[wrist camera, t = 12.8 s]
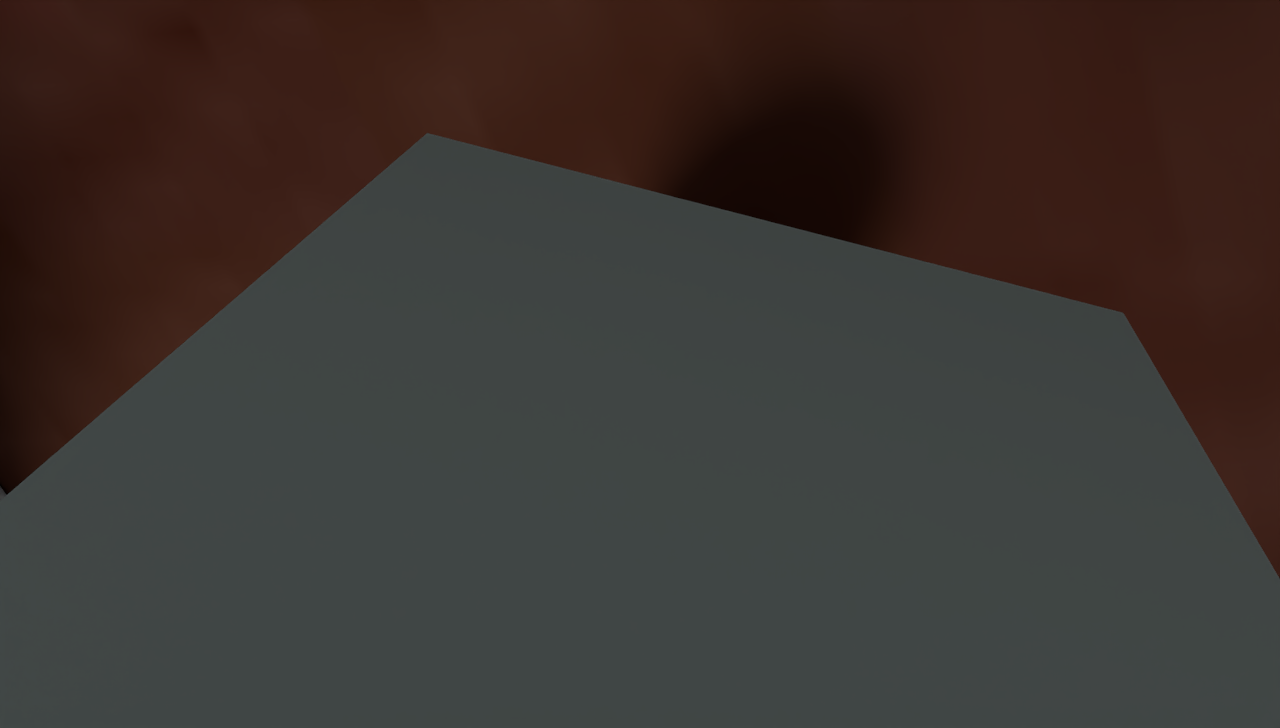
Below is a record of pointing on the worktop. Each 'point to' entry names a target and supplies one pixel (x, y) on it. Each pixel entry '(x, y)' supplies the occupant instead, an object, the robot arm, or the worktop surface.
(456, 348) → the pale grey cube
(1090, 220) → the worktop surface
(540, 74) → the worktop surface
